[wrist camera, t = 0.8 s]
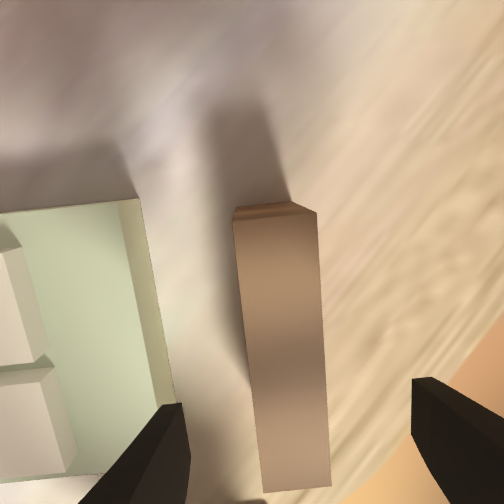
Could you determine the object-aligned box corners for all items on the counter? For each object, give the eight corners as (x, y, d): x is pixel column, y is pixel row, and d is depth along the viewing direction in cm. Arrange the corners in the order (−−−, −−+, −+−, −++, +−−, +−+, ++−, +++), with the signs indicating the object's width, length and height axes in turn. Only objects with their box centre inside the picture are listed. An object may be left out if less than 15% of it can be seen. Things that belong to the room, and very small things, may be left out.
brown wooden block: (305, 394, 20) (331, 486, 14) (256, 399, 20) (262, 493, 14) (291, 201, 17) (316, 212, 11) (235, 207, 17) (230, 221, 11)
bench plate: (179, 423, 20) (168, 465, 17) (21, 440, 20) (-18, 485, 17) (139, 198, 17) (116, 202, 14) (-50, 218, 17) (-113, 226, 14)
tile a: (78, 451, 16) (65, 472, 15) (-17, 461, 16) (-37, 483, 15) (55, 366, 15) (39, 382, 14) (-47, 377, 15) (-72, 393, 14)
